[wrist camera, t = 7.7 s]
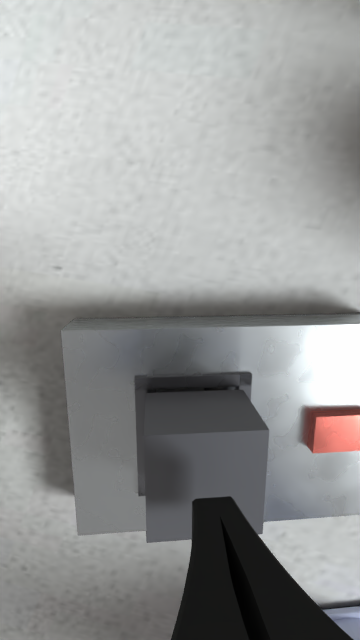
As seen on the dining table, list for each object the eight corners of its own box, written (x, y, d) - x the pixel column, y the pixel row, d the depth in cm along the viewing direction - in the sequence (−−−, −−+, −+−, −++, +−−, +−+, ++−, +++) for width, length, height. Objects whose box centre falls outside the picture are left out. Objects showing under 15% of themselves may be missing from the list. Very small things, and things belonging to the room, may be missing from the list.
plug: (225, 440, 19) (262, 533, 13) (147, 443, 19) (146, 542, 12) (228, 366, 18) (269, 429, 12) (146, 369, 18) (144, 435, 11)
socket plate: (343, 482, 21) (376, 522, 18) (87, 499, 19) (75, 545, 16) (364, 313, 18) (406, 326, 15) (73, 318, 17) (57, 334, 14)
